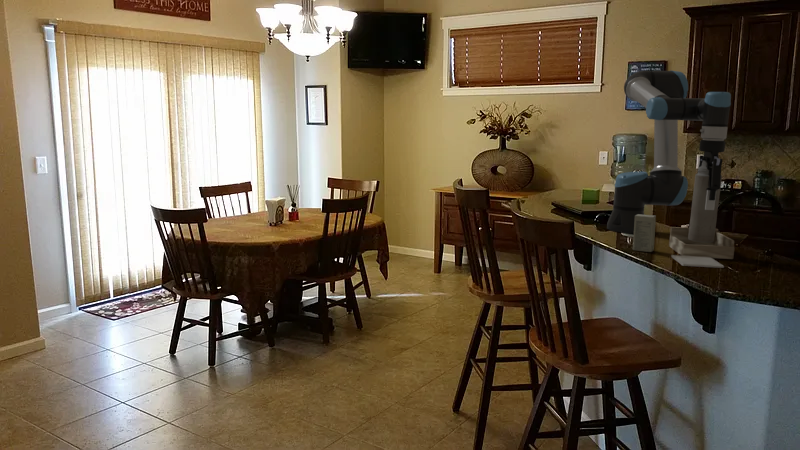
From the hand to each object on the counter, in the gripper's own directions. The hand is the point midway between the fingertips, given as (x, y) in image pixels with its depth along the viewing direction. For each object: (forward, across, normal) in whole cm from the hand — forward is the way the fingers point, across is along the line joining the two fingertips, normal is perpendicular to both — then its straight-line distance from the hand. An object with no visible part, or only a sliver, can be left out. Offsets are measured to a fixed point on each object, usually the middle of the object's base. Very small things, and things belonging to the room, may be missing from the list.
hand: (704, 207), depth 203 cm
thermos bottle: (+11, 0, 0) cm, 11 cm away
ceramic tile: (+15, +15, -6) cm, 23 cm away
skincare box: (+16, +1, -19) cm, 25 cm away
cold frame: (+16, 0, 0) cm, 16 cm away
